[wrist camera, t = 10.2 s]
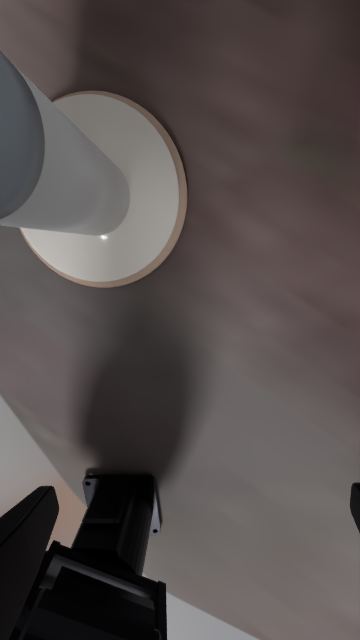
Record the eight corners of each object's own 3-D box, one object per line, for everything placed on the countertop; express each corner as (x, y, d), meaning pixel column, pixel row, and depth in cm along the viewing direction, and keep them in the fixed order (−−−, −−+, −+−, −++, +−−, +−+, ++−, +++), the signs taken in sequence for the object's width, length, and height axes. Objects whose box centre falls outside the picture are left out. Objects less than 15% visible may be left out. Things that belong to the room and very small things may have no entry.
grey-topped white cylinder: (142, 214, 17) (54, 163, 7) (80, 248, 18) (-85, 249, 8) (106, 138, 16) (-64, -60, 6) (42, 178, 17) (-209, 67, 7)
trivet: (193, 280, 19) (193, 282, 18) (35, 292, 21) (26, 295, 19) (179, 81, 16) (177, 69, 15) (-6, 108, 17) (-20, 99, 16)
